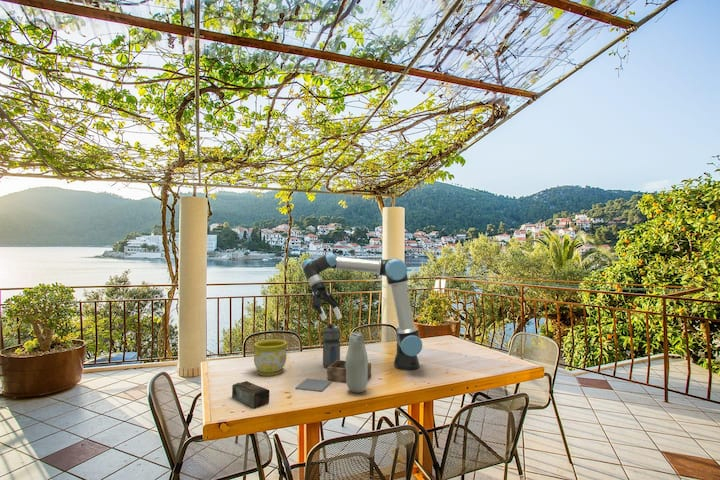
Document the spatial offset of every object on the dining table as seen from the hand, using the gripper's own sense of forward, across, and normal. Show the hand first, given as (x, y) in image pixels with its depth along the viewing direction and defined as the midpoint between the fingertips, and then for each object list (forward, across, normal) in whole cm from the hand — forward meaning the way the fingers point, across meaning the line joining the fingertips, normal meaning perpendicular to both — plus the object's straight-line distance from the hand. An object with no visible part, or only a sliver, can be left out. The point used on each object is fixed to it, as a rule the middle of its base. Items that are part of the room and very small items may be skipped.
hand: (332, 319), depth 183 cm
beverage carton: (+21, +36, -34) cm, 54 cm away
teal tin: (+26, -14, -14) cm, 33 cm away
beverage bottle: (+16, -24, -30) cm, 42 cm away
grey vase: (+37, +2, -4) cm, 37 cm away
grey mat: (+25, +6, -22) cm, 34 cm away
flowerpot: (+5, +4, -50) cm, 51 cm away
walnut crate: (+28, -12, -14) cm, 34 cm away
